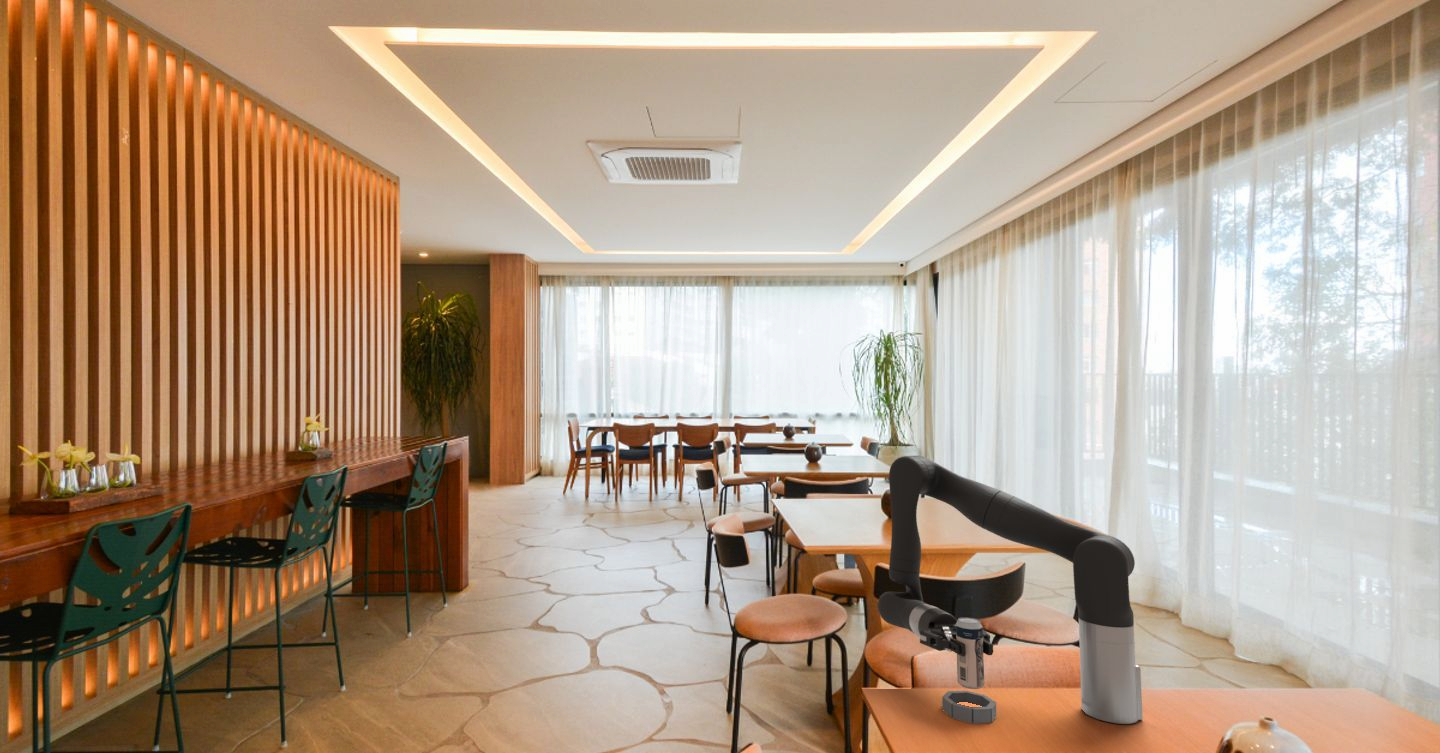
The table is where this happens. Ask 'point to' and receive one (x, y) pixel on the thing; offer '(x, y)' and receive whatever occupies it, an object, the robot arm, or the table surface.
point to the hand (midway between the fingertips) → (977, 650)
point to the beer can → (970, 653)
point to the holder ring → (969, 713)
